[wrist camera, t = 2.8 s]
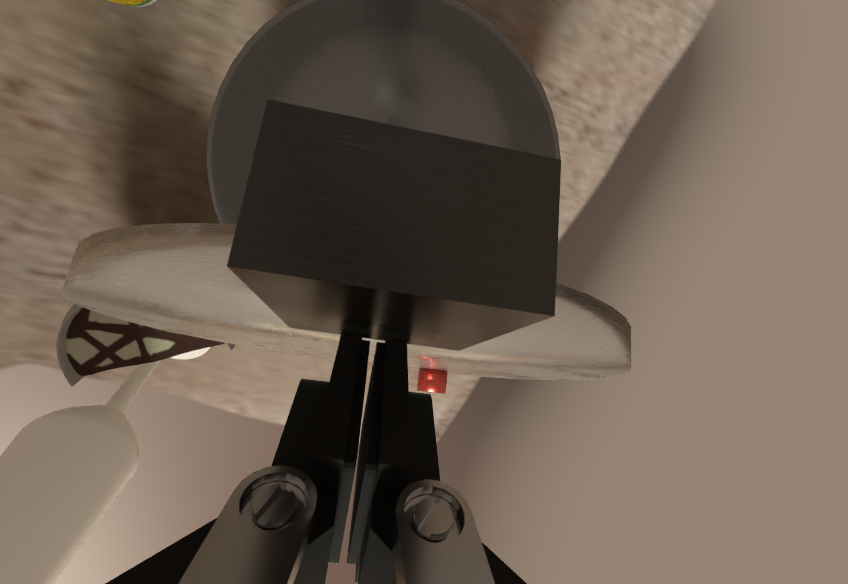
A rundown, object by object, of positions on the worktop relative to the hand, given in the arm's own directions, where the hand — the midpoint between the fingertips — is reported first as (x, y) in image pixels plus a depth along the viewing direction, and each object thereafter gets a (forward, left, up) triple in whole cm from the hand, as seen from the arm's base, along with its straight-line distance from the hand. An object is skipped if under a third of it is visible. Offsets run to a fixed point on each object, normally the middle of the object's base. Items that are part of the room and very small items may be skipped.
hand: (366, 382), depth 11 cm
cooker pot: (-2, 0, -25) cm, 25 cm away
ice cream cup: (+10, -15, -25) cm, 31 cm away
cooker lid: (+1, 0, -5) cm, 5 cm away
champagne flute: (+16, -17, -24) cm, 34 cm away
